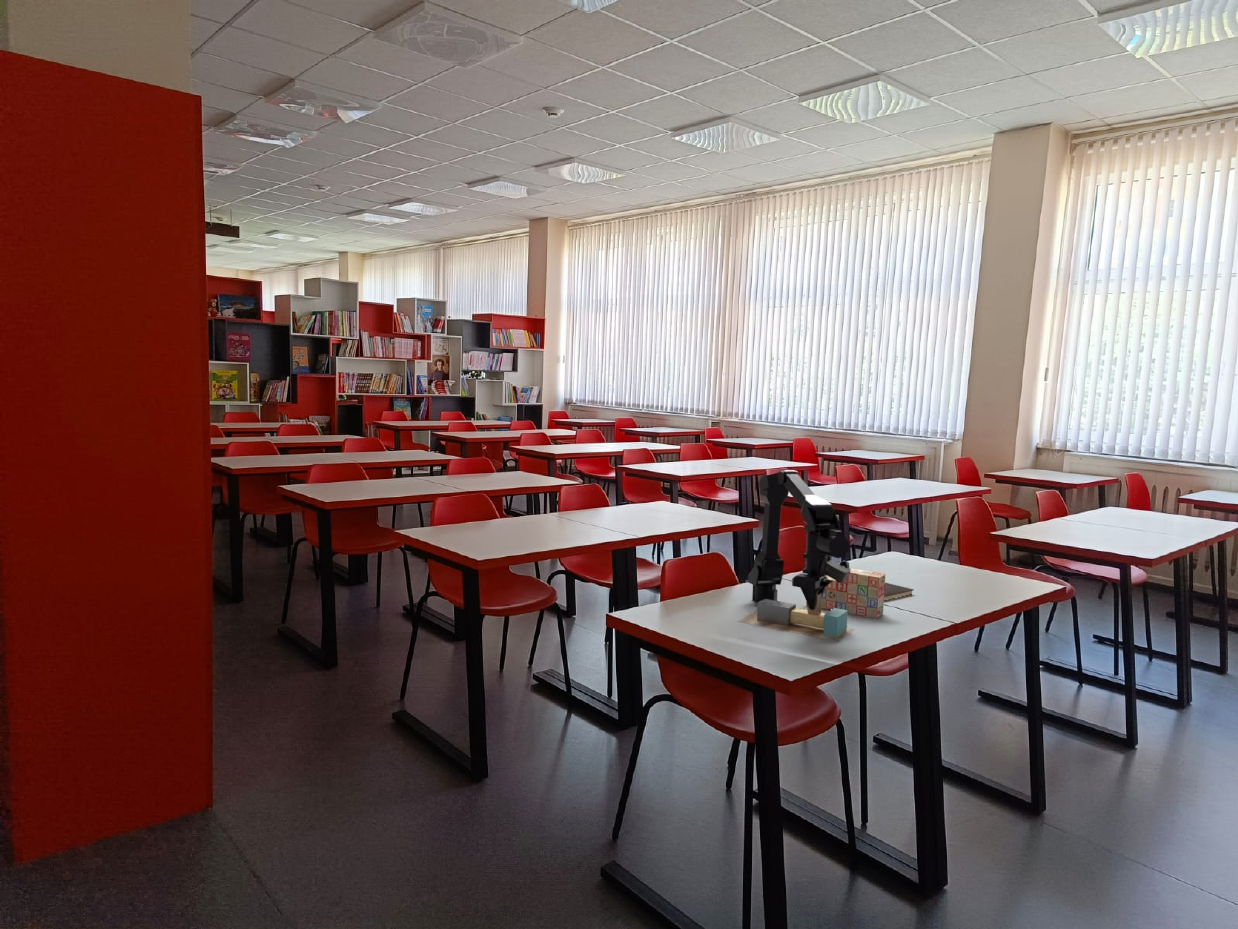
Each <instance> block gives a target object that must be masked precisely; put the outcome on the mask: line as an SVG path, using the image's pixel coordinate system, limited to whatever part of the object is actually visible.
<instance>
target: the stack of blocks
mask: <svg viewBox="0 0 1238 929" xmlns="http://www.w3.org/2000/svg"><path fill="white" fill-rule="evenodd" d="M849 568H850V567H849ZM850 569H851V570H850V572H851V573H850V574H849V575H848V577H847V579H846V581H844V582H843V583H839V582H837V581H836V580H834V579H833V578H831V577H829V576H826V577H828V580H832V581H833V582H832V583H830V584H829V585H828V586H826V588H825V590H824V593H823V596H822V599H821V608H825V609H824V610H827V609H834V608H837V609H842V610H848V613H852V614H851V615H854V614H856V615H855V616H859V617H864V616H867V617H866V618H869V617H872V618H871V619H875V618H876V619H878V617H879V616H880V617H881V616H882V614H884V603H885V601H884V592H885V583H886V573H882V572H881V573H880V572H876V571H873V570H866V569H864V570H863V569H858V568H857V569H856V568H850ZM805 601H806V600H805ZM805 604H806V605H808V604H807V601H806V602H805ZM848 613H847V614H848ZM880 617H879V618H880Z"/></svg>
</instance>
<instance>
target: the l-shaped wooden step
mask: <svg viewBox="0 0 1238 929" xmlns="http://www.w3.org/2000/svg"><path fill="white" fill-rule="evenodd" d="M821 597H822V593H818V594H817V599H816V604H815V609H814V610H810V608H809V606H807V609H801V608H797V607H796V608H792V609H790V614H789V622H790V623H795V624H800V625H806V626H811V627H816V628H821V629H824V615H825V614H826V613H823V612H822V609H821Z"/></svg>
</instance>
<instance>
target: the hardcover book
mask: <svg viewBox="0 0 1238 929" xmlns="http://www.w3.org/2000/svg"><path fill="white" fill-rule="evenodd" d="M913 591H914V589H913V588H909V587H905V586H903V585H902V586H900V585H898V584H897V585H896V584H893V583H889V582H885V592H884V600H886V599H891V600H893V599H892V598H895V599H897V598H896V597H900V596H904V597H907V596H906V595H909V594H912V595H913ZM909 596H910V595H909ZM900 598H901V597H900Z"/></svg>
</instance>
